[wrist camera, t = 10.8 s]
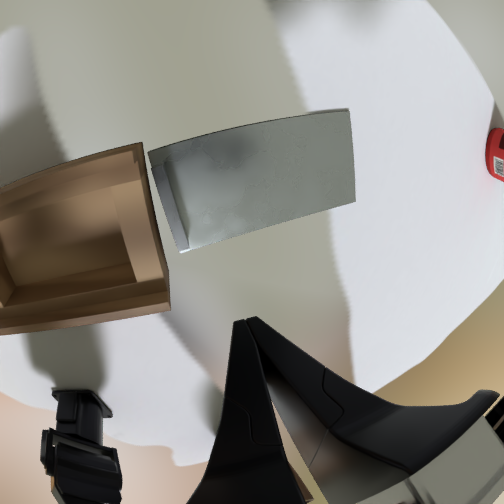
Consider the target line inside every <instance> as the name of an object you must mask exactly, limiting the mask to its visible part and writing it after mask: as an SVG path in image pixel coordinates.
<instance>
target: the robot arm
mask: <svg viewBox="0 0 504 504" xmlns="http://www.w3.org/2000/svg"><path fill="white" fill-rule="evenodd" d="M52 396H53V397H54V398H55V399H56V400H57V401H58V407H57V414H56V420H57V424H56V430H54V429H52V428H49V430H43V431H42V440H41V455H40V461H41V462H42V464H43V465H44V468H45V470H46V475H49V476H51V492H52V494H53V496H54V497H55V499H56V500H57V502H58V503H59V504H120V502H121V499H122V498H121V494H120V492H121V489H122V473H121V469H120V464H119V459H118V455H117V449H116V448H109V447H105V446H103V418H112V417H113V414H112V413H111V412H110V411H109V410H108V408H107V407H106V406H105V405H104V404H103V403H102V402H101V401H100V400H99V398H98V397H97V396H96V395H95V394H94V393H93V392H92V391H90V390H80V391H53V392H52ZM499 396H500V394H499V393H497V392H495V391H492V390H478V391H477V392H476V393H475V394H474V395H473V396H472V397H471V398H470V399H468V400H467V401H465V402H463V403H460V404H456V405H444V406H402V405H397V404H394V403H391V402H388V401H386V400H384V399H382V398H379V397H378V396H376V395H373V394H372V393H370V392H367V391H365V390H363V389H362V388H360V387H358V386H356V385H354V384H352V383H350V382H348V381H347V380H345V379H343V378H342V377H340V376H339V375H337V374H336V373H334V372H333V371H331V370H330V369H328V368H327V367H326V368H325V366H324V365H322V364H321V363H320V362H318V361H317V360H315V359H314V358H313V357H311V356H310V355H308V354H307V353H306V352H304V351H303V350H302V349H300V348H299V347H297V346H296V345H295V344H293V343H292V342H291V341H289V340H288V339H286V338H285V337H284V336H282V335H281V334H280V333H278V332H277V331H276V330H274V329H273V328H272V327H270V326H269V325H268V324H266V323H265V322H264V321H262V320H261V319H260V318H258V317H257V316H255V317H251V318H247V319H246V320H244V319H242V320H238V321H234V323H233V330H232V337H231V345H230V353H229V360H228V368H227V376H226V384H225V392H224V399H223V407H222V413H221V419H220V423H219V427H218V431H217V435H216V439H215V442H214V445H213V449H212V452H211V455H210V459H209V462H208V465H207V468H206V471H205V473H204V476H203V478H202V480H201V482H200V483H199V485H198V487H197V488H196V490H195V491H194V493H193V494H192V496H191V498H190V499H189V500H188V502H187V503H186V504H307V503H306V501H305V499H304V497H303V494H302V492H301V490H300V488H299V486H298V483H297V481H296V479H295V477H294V474H293V472H292V470H291V468H290V465H289V463H288V460H287V457H286V454H285V451H284V447H283V443H282V439H281V436H280V432H279V428H278V424H277V421H276V417H275V413H274V409H273V405H272V402H273V404H274V405H275V408H276V409H277V411H278V413H279V415H280V417H281V419H282V421H283V423H284V425H285V427H286V428H287V431H288V432H289V434H290V436H291V438H292V440H293V442H294V444H295V445H296V447H297V449H298V451H299V453H300V454H301V456H302V458H303V460H304V462H305V464H306V465H307V467H308V468H309V471H310V473H311V474H312V476H313V477H314V480H315V481H316V483H317V485H318V486H319V488H320V490H321V492H322V493H323V495H324V497H325V498H326V500H327V501H328V503H329V504H356V503H357V504H492V503H493V502H494V501H495V500H496V499H497V498H498V497H499V495H500V494H501V493H502V492H503V491H504V396H503V397H502V398H501V399H500V400H499V402H498V403H497V404H496V405H495V406H494V407H493V408H492V409H491V410H490V411H489V412H488V413H487V414H486V416H485V417H484V416H483V414H484V413H485V412H486V411H487V410H488V408H490V406H491V405H492V404H493V403H494V402H495V401H496V400H497V398H498V397H499ZM271 400H272V402H271ZM53 445H55V447H54V446H53Z"/></svg>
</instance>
